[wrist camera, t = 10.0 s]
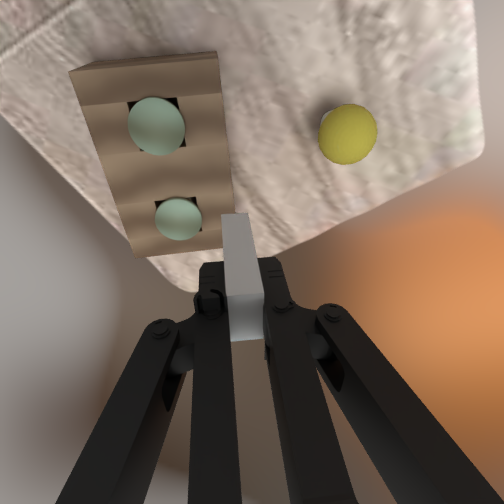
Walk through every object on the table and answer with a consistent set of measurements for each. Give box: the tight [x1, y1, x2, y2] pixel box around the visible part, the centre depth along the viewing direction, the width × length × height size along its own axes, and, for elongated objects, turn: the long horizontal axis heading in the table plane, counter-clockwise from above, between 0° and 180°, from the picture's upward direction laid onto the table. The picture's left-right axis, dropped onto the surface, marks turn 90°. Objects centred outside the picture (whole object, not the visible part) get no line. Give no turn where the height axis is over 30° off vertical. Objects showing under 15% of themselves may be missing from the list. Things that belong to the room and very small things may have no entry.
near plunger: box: [128, 97, 185, 155], centre depth 36 cm, size 6×6×8 cm
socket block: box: [68, 51, 235, 258], centre depth 40 cm, size 22×14×8 cm, turn 4°
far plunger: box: [155, 196, 202, 240], centre depth 42 cm, size 6×6×8 cm
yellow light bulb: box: [318, 104, 377, 165], centre depth 39 cm, size 7×7×10 cm
